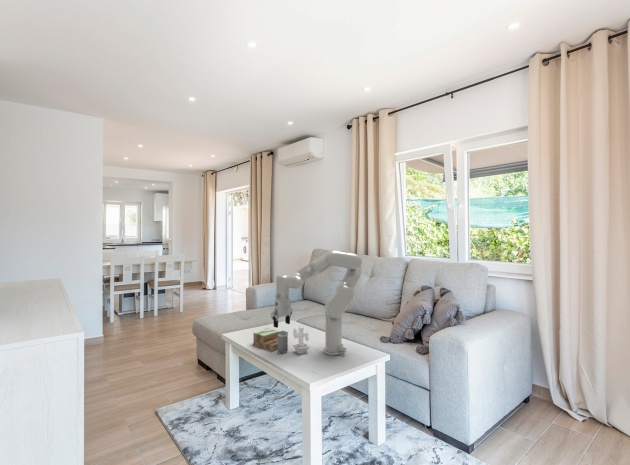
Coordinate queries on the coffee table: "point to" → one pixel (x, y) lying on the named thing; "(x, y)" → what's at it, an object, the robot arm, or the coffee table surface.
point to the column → (282, 342)
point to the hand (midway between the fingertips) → (281, 325)
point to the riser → (266, 339)
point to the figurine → (300, 340)
